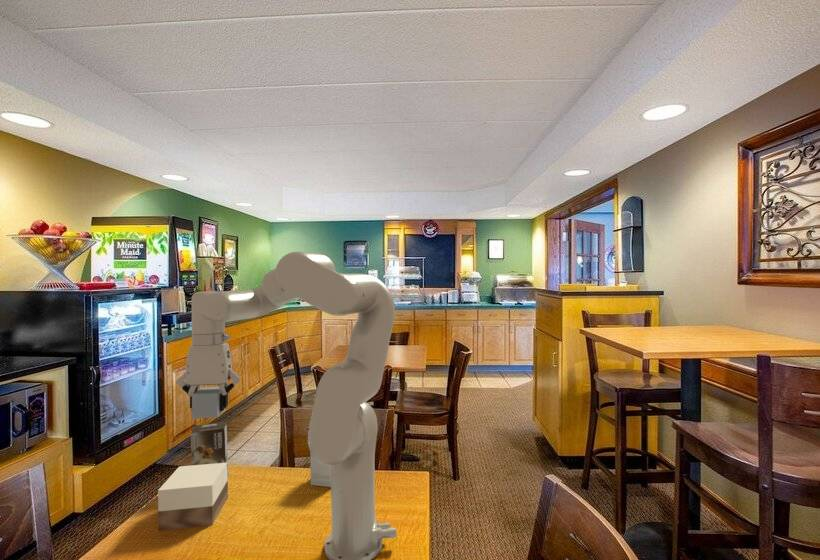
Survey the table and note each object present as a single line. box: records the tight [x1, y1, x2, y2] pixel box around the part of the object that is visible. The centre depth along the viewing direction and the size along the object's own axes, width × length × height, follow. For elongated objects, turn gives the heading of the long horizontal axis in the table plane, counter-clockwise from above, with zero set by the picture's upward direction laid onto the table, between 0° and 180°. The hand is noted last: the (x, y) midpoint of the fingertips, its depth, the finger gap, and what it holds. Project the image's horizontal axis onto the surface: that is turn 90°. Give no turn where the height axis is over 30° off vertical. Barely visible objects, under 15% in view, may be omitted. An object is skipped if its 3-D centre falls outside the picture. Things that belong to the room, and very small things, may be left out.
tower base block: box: [158, 480, 229, 531], centre depth 100 cm, size 12×12×5 cm
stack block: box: [191, 386, 227, 420], centre depth 101 cm, size 6×6×6 cm
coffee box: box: [190, 421, 229, 480], centre depth 116 cm, size 9×6×16 cm
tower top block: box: [157, 463, 228, 511], centre depth 100 cm, size 12×12×5 cm
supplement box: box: [309, 451, 331, 488], centre depth 115 cm, size 7×7×13 cm
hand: (209, 409), depth 101 cm, fingers closed on stack block, 6 cm apart
